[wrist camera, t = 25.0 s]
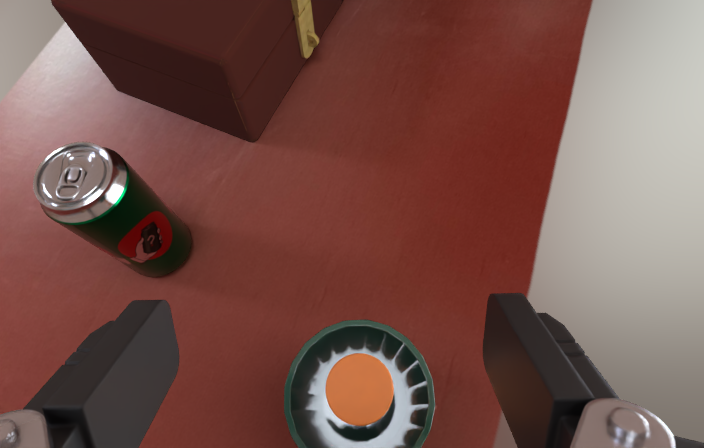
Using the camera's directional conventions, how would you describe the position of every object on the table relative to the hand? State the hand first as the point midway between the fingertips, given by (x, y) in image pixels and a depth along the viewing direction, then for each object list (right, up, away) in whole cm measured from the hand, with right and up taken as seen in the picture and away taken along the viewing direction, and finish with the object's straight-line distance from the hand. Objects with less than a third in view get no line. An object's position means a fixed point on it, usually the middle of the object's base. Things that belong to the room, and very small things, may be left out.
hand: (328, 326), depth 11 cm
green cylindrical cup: (+1, -10, +20) cm, 22 cm away
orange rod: (+1, -9, +19) cm, 21 cm away
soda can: (-14, +1, +24) cm, 28 cm away
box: (-10, +21, +33) cm, 40 cm away
